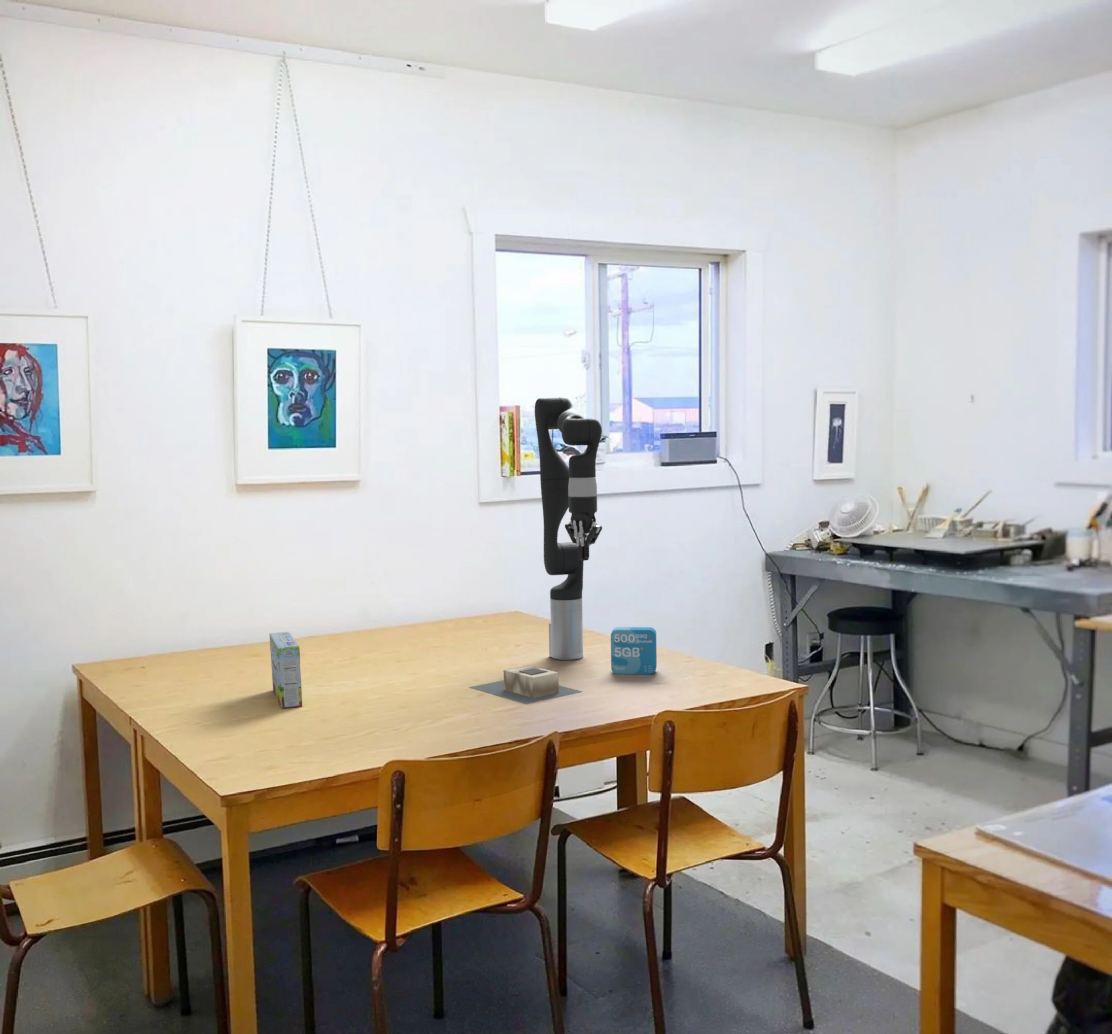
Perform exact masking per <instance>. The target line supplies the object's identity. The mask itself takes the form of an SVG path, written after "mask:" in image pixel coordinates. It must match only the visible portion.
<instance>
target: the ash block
mask: <svg viewBox="0 0 1112 1034" xmlns="http://www.w3.org/2000/svg"><path fill="white" fill-rule="evenodd" d="M503 680H504V690H507V691H511V692H514V693H518V694H521V695H525V696H528V697H532V698H536V697H540V696H545V695H550V694H554V693H559V684H560V682H559V681H560V680H559V672H557V671H553V670H549V669H545V668H541V667H536V666H533V665H529V664H528V665H524V666H518V667H512V668H508V669H503Z"/></svg>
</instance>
